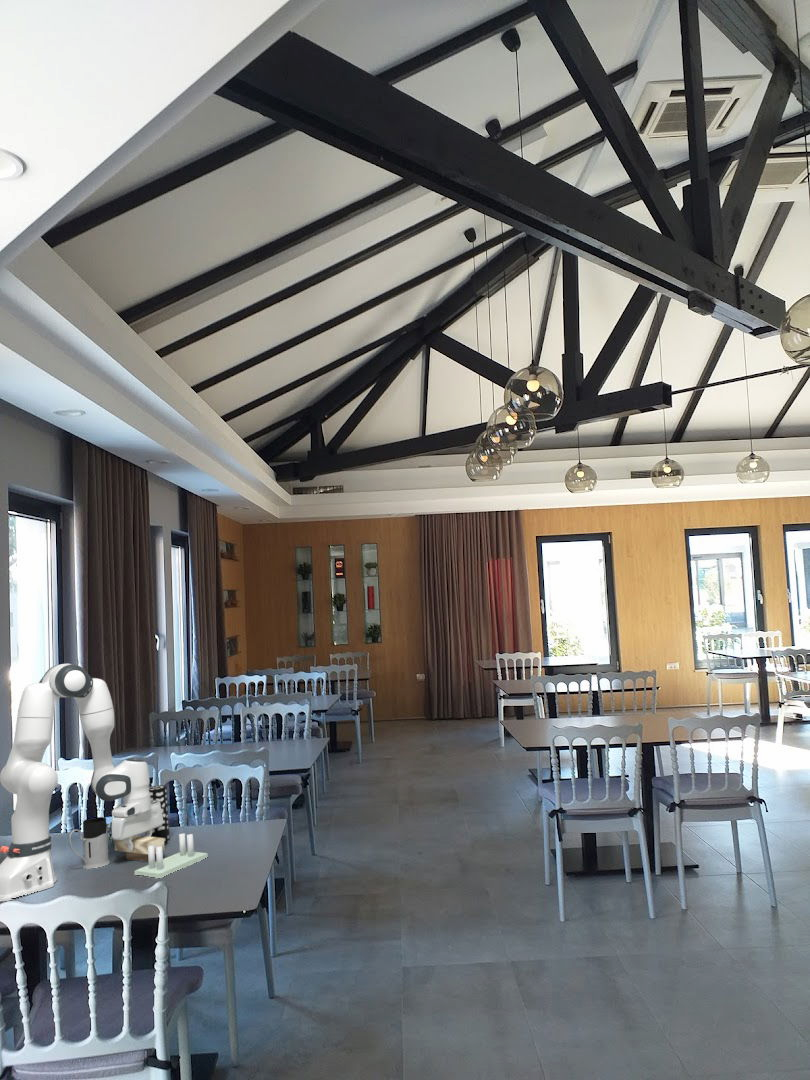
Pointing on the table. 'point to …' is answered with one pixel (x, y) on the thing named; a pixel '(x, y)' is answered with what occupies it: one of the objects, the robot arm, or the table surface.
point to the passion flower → (109, 829)
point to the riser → (136, 856)
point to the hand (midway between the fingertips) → (139, 846)
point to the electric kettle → (94, 843)
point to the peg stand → (171, 859)
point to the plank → (139, 844)
